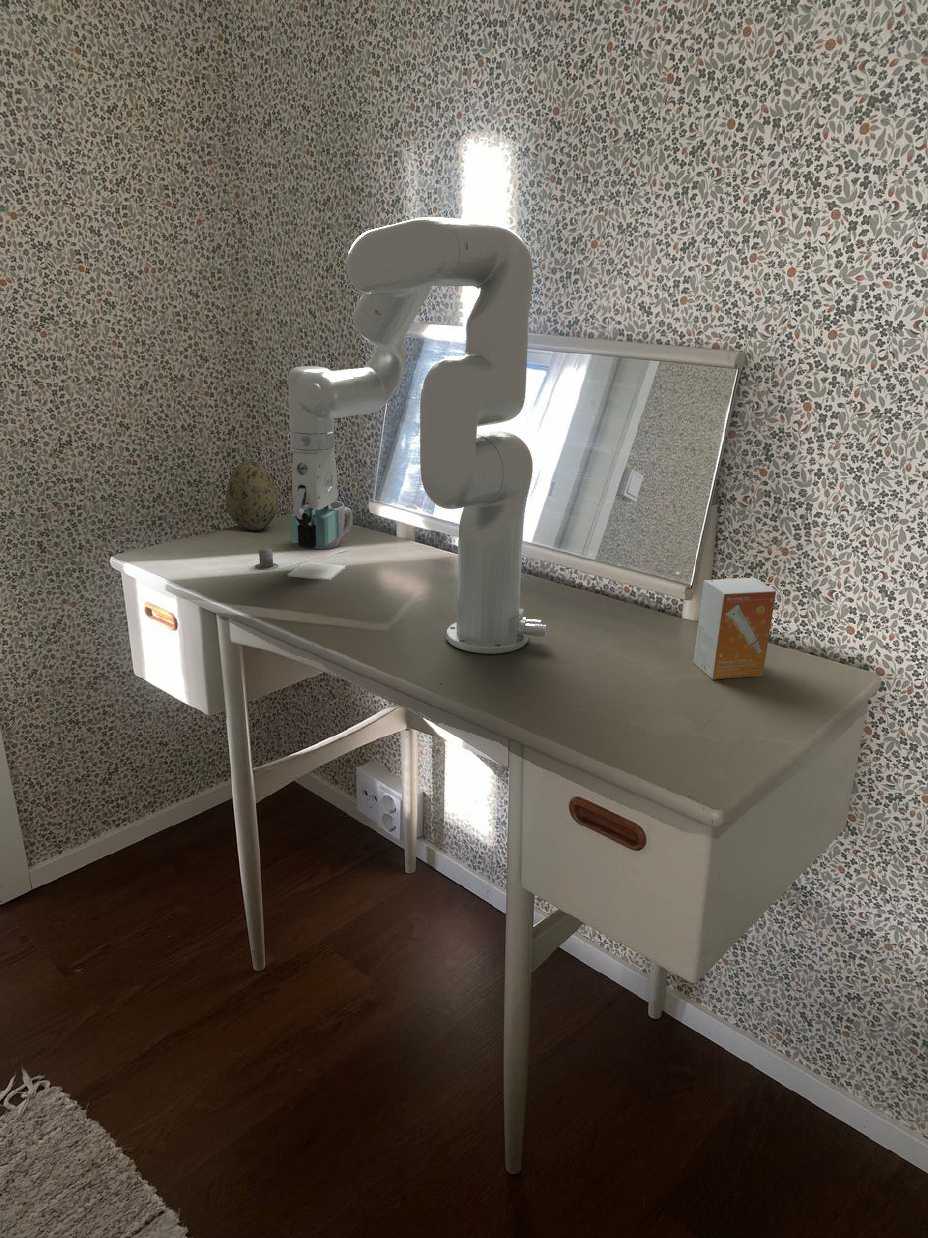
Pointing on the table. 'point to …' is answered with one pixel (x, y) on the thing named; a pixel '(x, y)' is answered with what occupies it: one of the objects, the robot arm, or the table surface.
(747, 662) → the small box
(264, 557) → the stand
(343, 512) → the mug
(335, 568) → the pad
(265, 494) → the decorative egg
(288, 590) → the table surface
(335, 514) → the c link
